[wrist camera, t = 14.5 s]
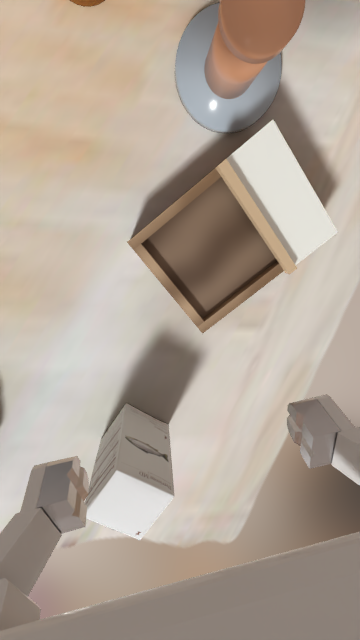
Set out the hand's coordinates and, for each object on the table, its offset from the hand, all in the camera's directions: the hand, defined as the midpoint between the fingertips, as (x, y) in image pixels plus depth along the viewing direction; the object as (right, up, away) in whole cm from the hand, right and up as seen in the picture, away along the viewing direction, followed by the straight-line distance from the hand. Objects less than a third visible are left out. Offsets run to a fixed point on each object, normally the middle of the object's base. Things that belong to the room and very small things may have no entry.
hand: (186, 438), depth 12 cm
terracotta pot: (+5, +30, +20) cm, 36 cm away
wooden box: (+5, +15, +25) cm, 30 cm away
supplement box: (-7, -11, +32) cm, 35 cm away
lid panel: (+10, +17, +20) cm, 28 cm away
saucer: (+5, +30, +21) cm, 37 cm away
